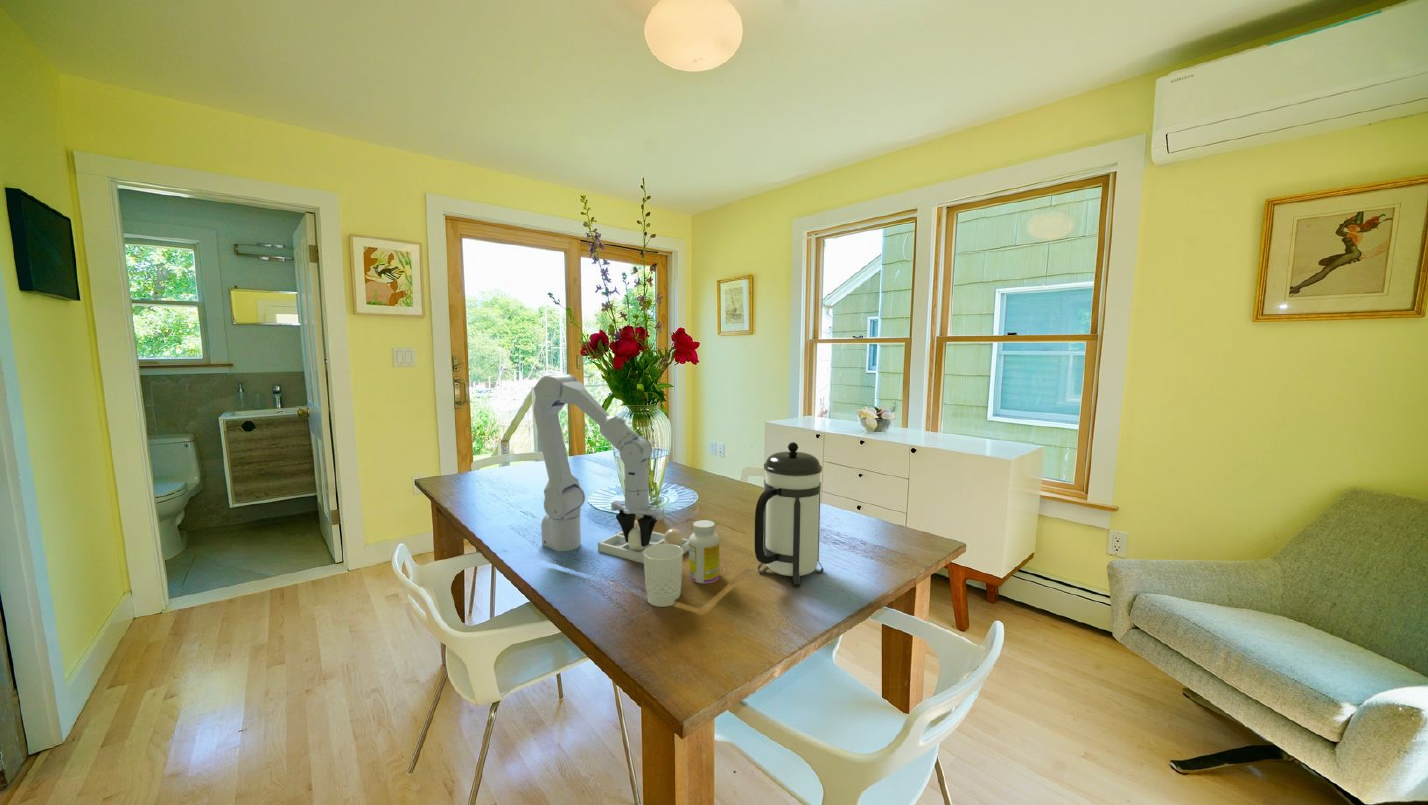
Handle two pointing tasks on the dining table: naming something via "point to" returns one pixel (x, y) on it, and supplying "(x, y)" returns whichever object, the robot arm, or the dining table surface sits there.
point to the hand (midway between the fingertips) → (637, 543)
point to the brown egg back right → (673, 537)
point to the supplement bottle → (704, 553)
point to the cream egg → (635, 540)
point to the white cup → (663, 574)
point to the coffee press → (789, 515)
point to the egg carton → (620, 548)
